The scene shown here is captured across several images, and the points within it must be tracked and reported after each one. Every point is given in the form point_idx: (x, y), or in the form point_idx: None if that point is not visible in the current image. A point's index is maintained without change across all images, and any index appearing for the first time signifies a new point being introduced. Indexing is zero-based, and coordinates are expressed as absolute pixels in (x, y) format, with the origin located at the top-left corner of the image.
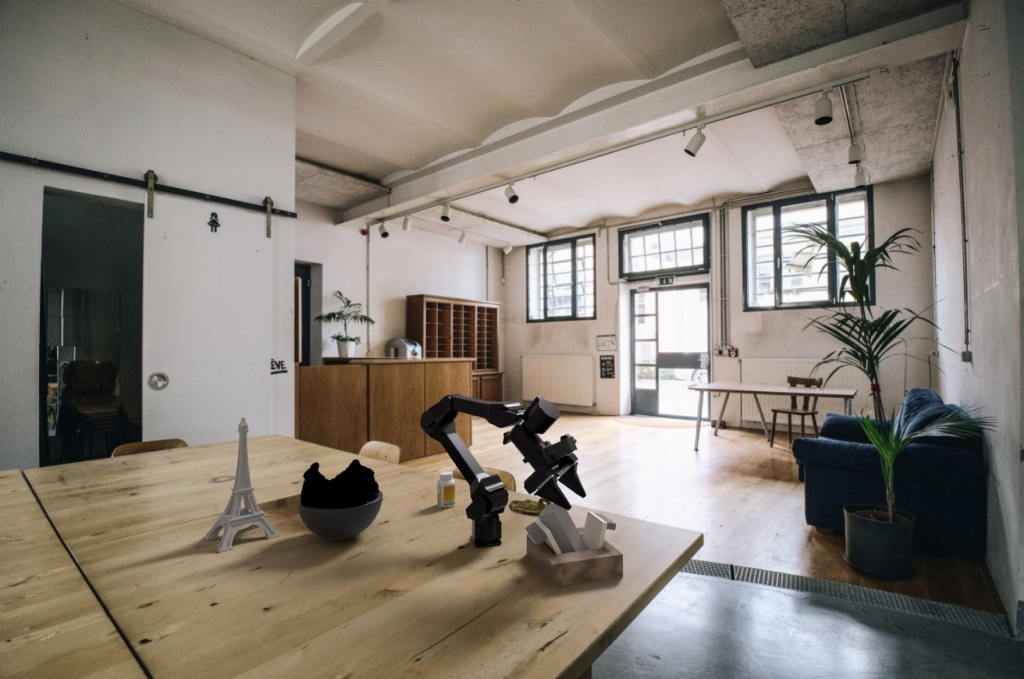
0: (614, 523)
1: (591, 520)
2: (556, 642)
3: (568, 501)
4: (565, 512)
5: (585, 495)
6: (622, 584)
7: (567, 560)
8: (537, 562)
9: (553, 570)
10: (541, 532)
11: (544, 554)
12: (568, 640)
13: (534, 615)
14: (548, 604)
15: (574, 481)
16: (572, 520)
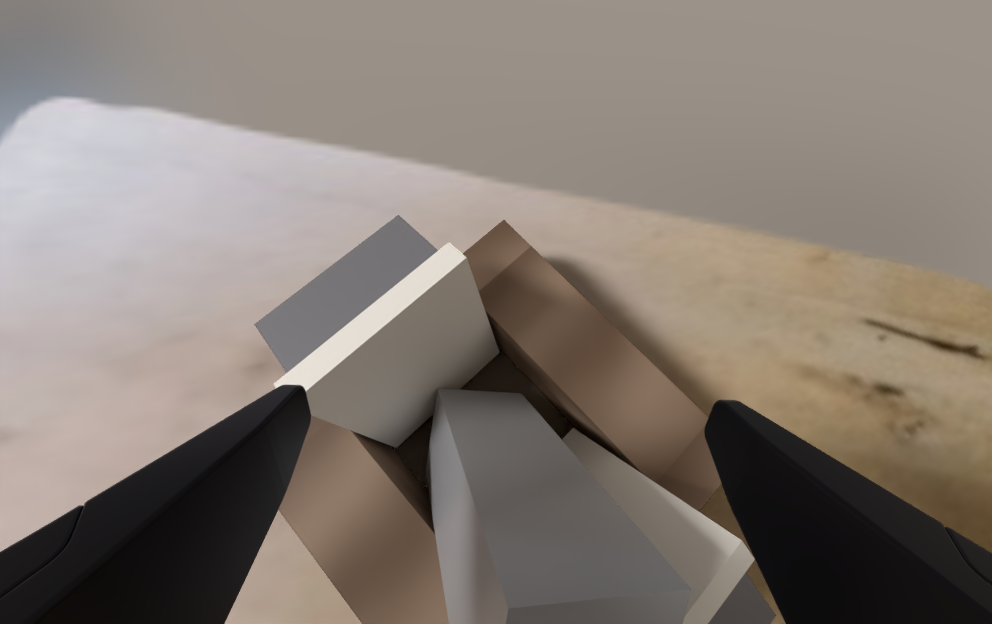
0: (401, 222)
1: (368, 366)
2: (926, 328)
3: (766, 433)
4: (513, 521)
5: (302, 390)
6: (551, 248)
7: (675, 405)
8: None
9: None
10: (742, 598)
11: None
12: (898, 305)
13: (868, 434)
14: (790, 418)
15: (134, 601)
16: (463, 468)
